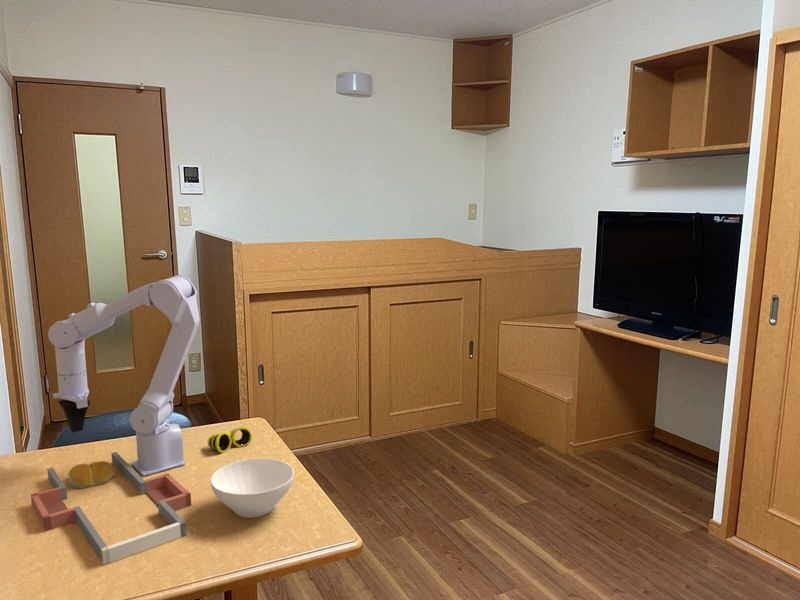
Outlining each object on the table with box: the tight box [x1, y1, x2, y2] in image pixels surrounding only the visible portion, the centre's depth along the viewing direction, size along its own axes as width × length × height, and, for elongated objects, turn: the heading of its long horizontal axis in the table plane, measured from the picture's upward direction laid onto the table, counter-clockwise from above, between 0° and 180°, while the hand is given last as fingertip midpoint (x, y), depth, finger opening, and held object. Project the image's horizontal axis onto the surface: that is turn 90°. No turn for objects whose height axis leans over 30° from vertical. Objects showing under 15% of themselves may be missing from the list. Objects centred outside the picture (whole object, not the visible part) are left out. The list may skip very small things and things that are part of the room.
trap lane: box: [30, 451, 192, 566], centre depth 119 cm, size 24×41×2 cm, turn 41°
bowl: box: [210, 457, 295, 519], centre depth 118 cm, size 16×16×7 cm
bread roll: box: [67, 460, 115, 489], centre depth 130 cm, size 8×9×4 cm
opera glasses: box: [207, 426, 253, 454], centre depth 148 cm, size 10×5×5 cm, turn 134°
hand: (76, 430), depth 136 cm, fingers closed
